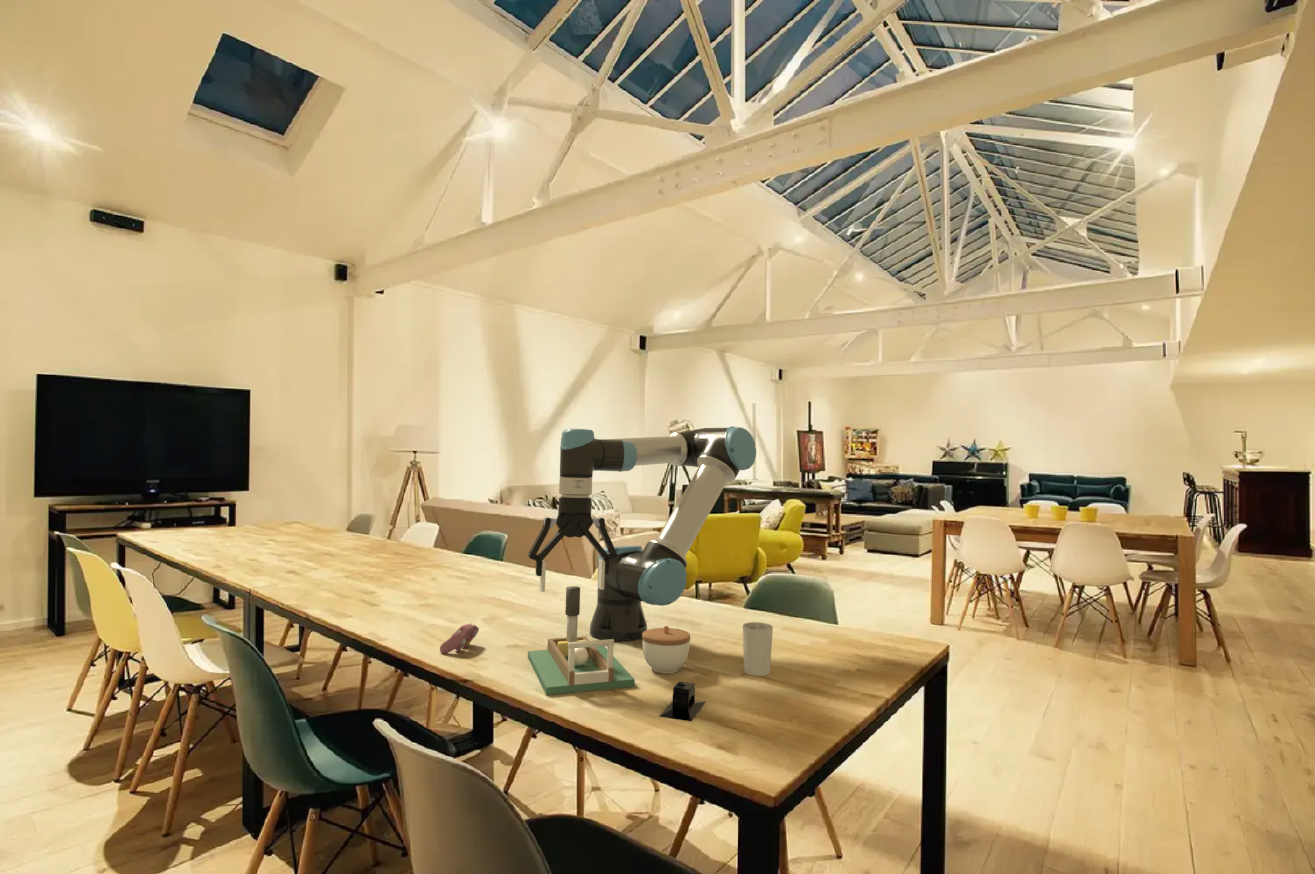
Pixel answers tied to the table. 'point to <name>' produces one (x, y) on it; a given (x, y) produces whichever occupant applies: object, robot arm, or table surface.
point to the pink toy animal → (460, 638)
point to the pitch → (579, 668)
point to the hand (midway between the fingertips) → (572, 589)
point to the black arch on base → (683, 703)
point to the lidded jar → (665, 648)
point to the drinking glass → (757, 648)
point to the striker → (571, 618)
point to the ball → (580, 656)
